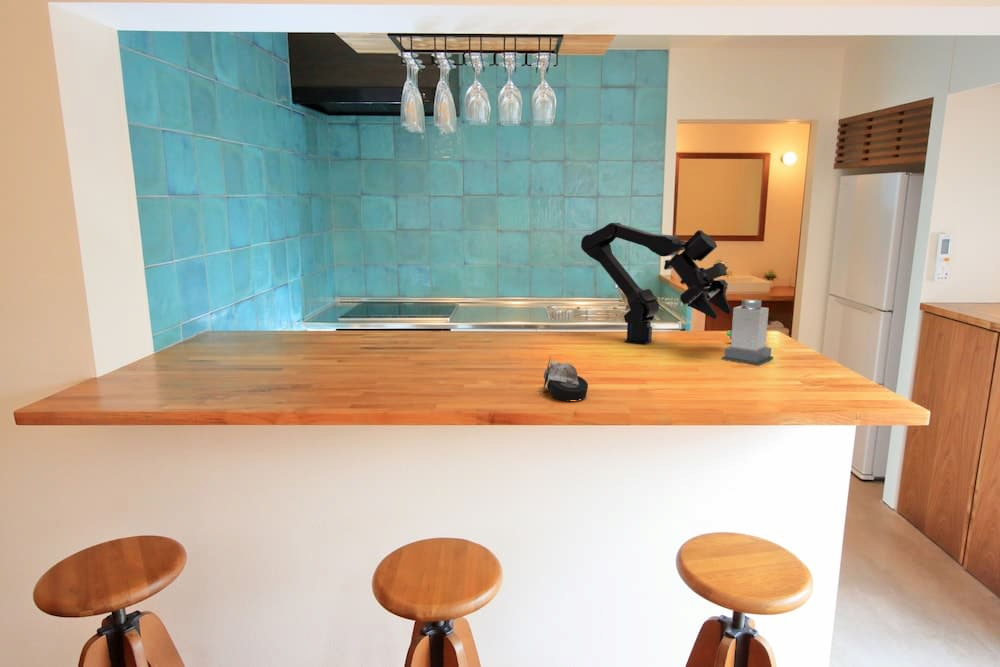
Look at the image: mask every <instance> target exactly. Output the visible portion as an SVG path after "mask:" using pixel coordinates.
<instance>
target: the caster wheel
mask: <svg viewBox="0 0 1000 667" xmlns="http://www.w3.org/2000/svg"><path fill="white" fill-rule="evenodd" d="M551 357H552V356H551V355H549V358H548V362H547V365H546V369H545V370H544V372H543V379H544V383H543V388H542V390H543V391H542V393H543V392H545V388H546V389H547V391H549V393H550V394H551V395H552V396H553V397H554V398H557V399H559V400H561V401H564V400H579V399H582V400H584V399H585V398H586V396H587V395H588V394H587V393H588V388H589V384H588V382H587V381H586V379H585V378H583V377H581V376H579V375H578V372H577V369H576V368H575V366H574V365H572V364H570V363H566V362H559V361H555V360H551ZM583 398H584V399H583Z"/></svg>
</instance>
